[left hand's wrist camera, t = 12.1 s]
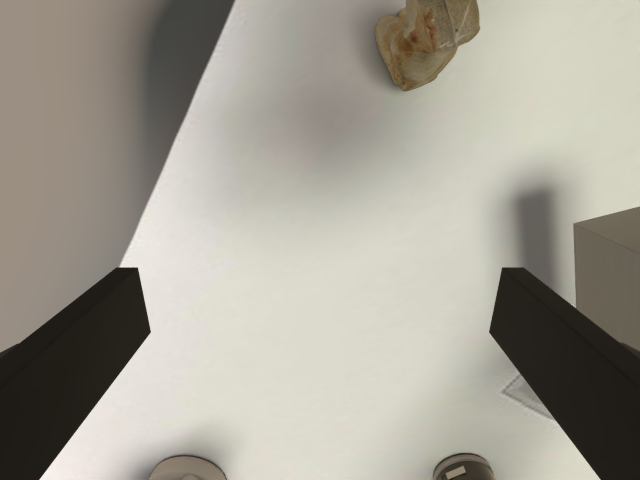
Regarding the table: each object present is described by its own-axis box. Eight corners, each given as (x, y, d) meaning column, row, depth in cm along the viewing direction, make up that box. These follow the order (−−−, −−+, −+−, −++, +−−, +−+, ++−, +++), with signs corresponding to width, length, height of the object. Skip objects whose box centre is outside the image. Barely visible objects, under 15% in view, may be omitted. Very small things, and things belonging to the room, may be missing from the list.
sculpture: (420, 3, 35) (490, -69, 20) (437, 79, 37) (509, 61, 23) (364, 26, 35) (394, -28, 21) (384, 99, 38) (422, 93, 24)
